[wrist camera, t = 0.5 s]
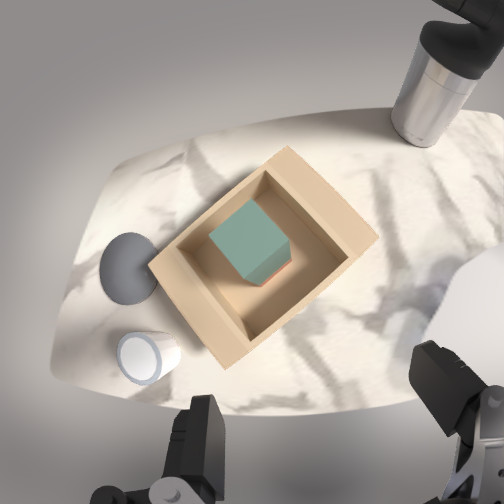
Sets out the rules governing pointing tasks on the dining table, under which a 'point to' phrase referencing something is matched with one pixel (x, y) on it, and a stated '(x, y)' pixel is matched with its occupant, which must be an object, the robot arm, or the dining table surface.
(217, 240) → the box
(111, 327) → the dining table surface
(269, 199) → the carton
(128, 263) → the slate plate
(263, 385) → the dining table surface
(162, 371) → the white cup
